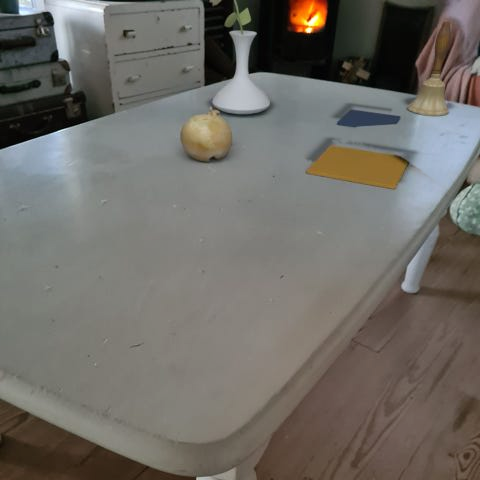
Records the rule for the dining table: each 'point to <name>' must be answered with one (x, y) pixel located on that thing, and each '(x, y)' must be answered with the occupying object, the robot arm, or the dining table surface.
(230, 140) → the onion
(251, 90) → the flower in vase
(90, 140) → the dining table surface
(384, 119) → the blue mat
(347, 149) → the ochre mat
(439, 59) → the hand bell
